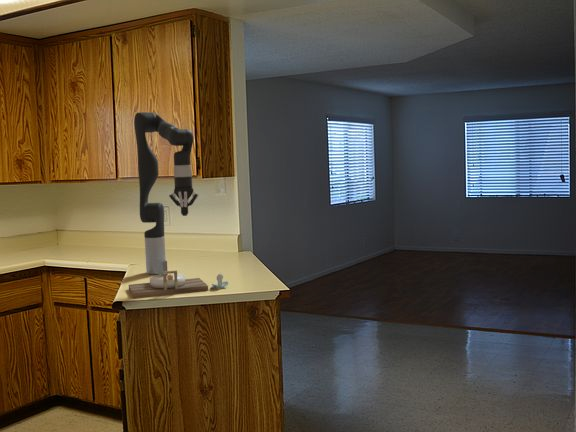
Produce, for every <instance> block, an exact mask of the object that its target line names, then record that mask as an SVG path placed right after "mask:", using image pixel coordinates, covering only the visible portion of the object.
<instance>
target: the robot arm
mask: <svg viewBox="0 0 576 432" xmlns="http://www.w3.org/2000/svg"><path fill="white" fill-rule="evenodd" d="M133 118H134V120H133V126H134V133H135V140H136V141H135V142H136V149H137V171H138V172H137V173H138V183H139V184H138V185H139V217H140V221H141V222H142V223H146V224H147V223H148V224H149V223H155V225H154V226H153V227H152V228H150V229H147V230H145V231H144V233H143V234H144V250H145V268H146V269H145V271H146V274H147V275H160V274H159V273H158V272H157V265H156V258H157V257H161V258H162V259H164V260H166V261H167V259H166V241H165V207H164V205H163V203H162V202H149V195H150V192H151V190H152V188H153V187H154V185H155V183H156V182H157V179H158V178H159V162H158V158H157V156H156V155H155V153H154V151H153V150H152V149H151V147H150V145H149V144H148V140H147V135H146V133H158V135H159V136H160V137H161V138H163V139H164V140H166V141H167V142H168V143H169V144H170V145H171V146H175V147H179V146H181V147H182V148H181V150H179V151H176V152H174V153H173V179H174V189H173V192H172V193H171V194H169V195H168V197H169V198H170V200H172V202H173V203H174V204H175V205H176V206H177V207H179V208H180V214H181V216H183V217H186V216H188V214H189V207H190V206H193V204H194V202H195V201H196V200H197V199H198V197H199V194H198V193H197V192H196V191H194V189H193V172H192V164H191V163H192V162H191V155H192V154H191V153H192V148H193V145H194V139H195V138H194V133H193V132H192V131H191V130H190V129H188V128H183V129H179V128H178V126H176V125H173V124H172V123H169V122H167V120H165V119H163V118H162V117H161V116H160V115H159V114H158V113H155V112H152V111H151V112H141V111H140V112H136V113H135V115H134V117H133ZM176 197H177V198H178V199H177V198H176ZM191 197H192V198H191ZM190 198H191V199H190Z"/></svg>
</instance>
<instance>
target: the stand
mask: <svg viewBox="0 0 576 432" xmlns="http://www.w3.org/2000/svg"><path fill="white" fill-rule="evenodd" d="M166 274H174V280H175V287H172V288H167V281H166ZM177 274H178V270H167V271H164V272H163V281H164V288H153V287H150V282H142V283H133V284H128V291H129V292H130V294H132V295H131V296H133V297H132V299H137V297H139V298H146V297H149V298H150V297H158V296H167V295H175V294H176V295H178V294H186V293H195V292H196V293H197V292H206V291H209V285H208V284H207V283H205V281H204V280H202V279H201V278H200V277H195V278H185V284H184V285H182V286H178V280H177Z"/></svg>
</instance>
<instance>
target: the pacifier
mask: <svg viewBox="0 0 576 432" xmlns="http://www.w3.org/2000/svg"><path fill="white" fill-rule="evenodd" d="M223 279H224V275H223V274H222V273H219V274H218V275H217V276H216V281H217V283H214V284H213V283H212V284H211V286H210V289H217V290H220V289H224V288H225V287H227V286H228V285H229V281H223Z"/></svg>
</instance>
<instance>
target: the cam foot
mask: <svg viewBox="0 0 576 432" xmlns="http://www.w3.org/2000/svg"><path fill="white" fill-rule="evenodd" d="M156 265H157V272H158V273H159V274H156V275H153V276H151V277H150V278H149V283H150V287H153V288H164V281H163V272H164V271H168V261H167V259H166V260H164V259H162V258H161V257H157V258H156ZM185 279H186V276H185V274H182V273H177V280H178V286H182V285H184V284H185ZM166 281H167V288H172V287H175V280H174V273H171V274H166Z"/></svg>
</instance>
